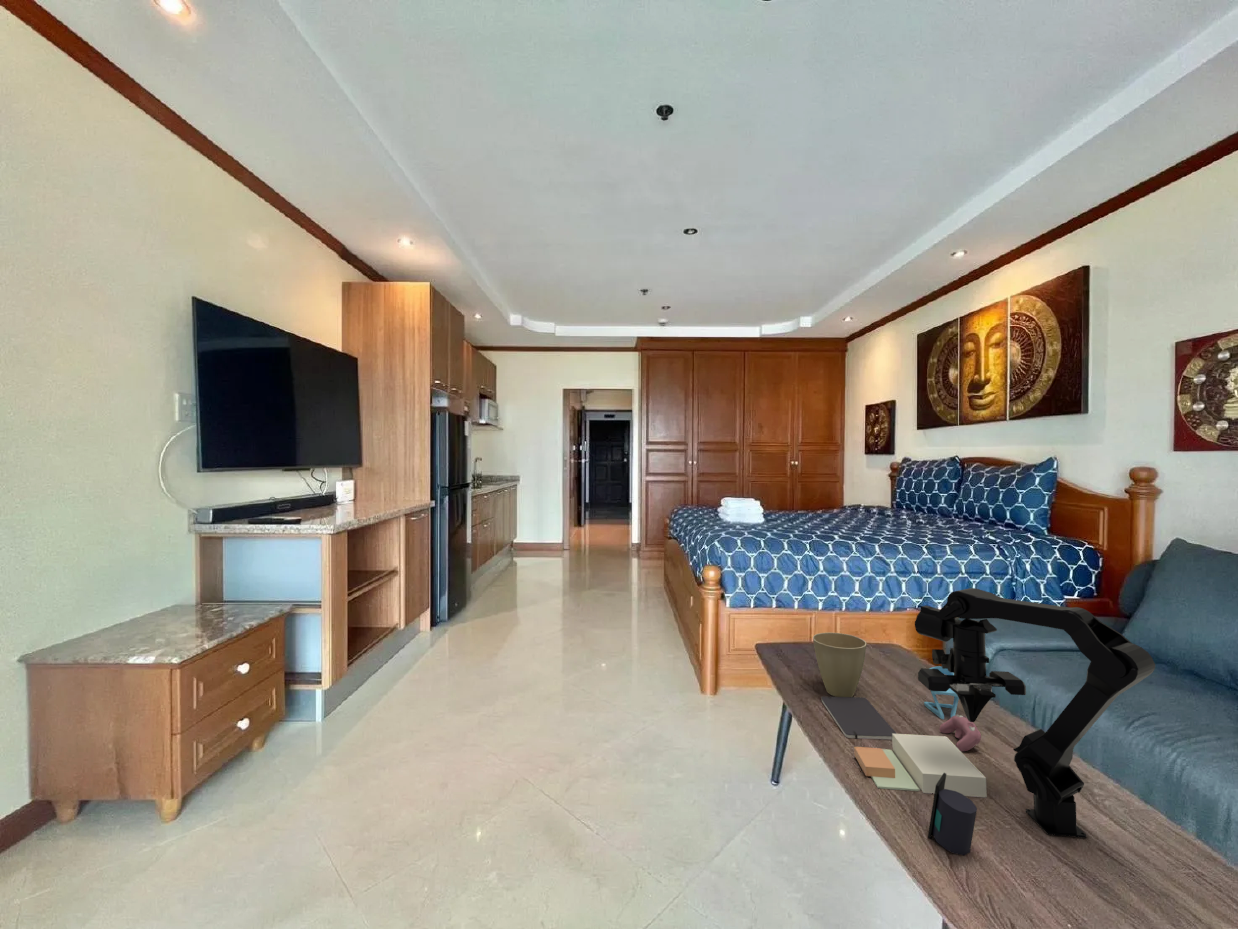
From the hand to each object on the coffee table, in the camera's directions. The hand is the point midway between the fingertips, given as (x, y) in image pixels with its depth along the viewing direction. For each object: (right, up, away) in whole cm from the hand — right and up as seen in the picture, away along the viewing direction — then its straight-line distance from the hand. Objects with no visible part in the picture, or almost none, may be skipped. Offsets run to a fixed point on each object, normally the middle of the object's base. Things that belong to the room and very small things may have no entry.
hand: (971, 721), depth 107 cm
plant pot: (-9, -14, +43) cm, 46 cm away
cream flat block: (-5, -13, +4) cm, 15 cm away
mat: (-16, -13, +5) cm, 21 cm away
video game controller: (+8, -13, +15) cm, 22 cm away
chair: (+14, -14, +30) cm, 36 cm away
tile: (-18, -11, +6) cm, 22 cm away
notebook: (-11, -14, +28) cm, 33 cm away
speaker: (-15, -13, -17) cm, 27 cm away
